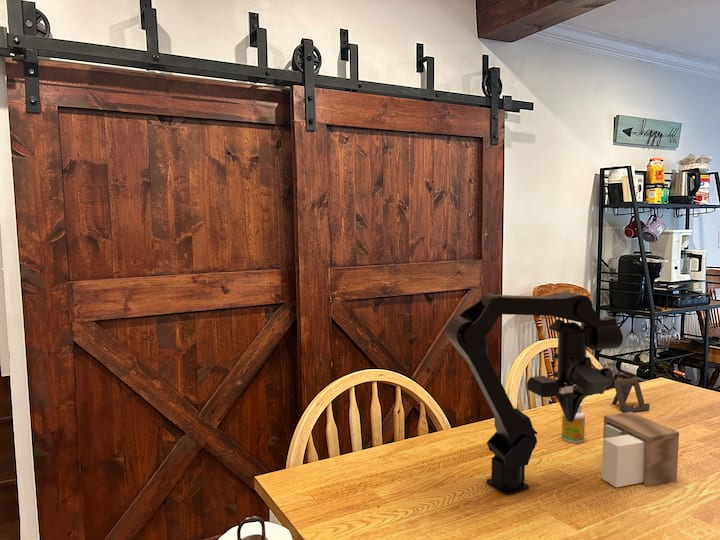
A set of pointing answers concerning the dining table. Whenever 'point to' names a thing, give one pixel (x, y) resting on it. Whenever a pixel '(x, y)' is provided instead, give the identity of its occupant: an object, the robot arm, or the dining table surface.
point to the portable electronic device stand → (623, 392)
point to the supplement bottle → (574, 427)
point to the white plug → (623, 460)
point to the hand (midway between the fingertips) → (569, 421)
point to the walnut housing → (648, 444)
